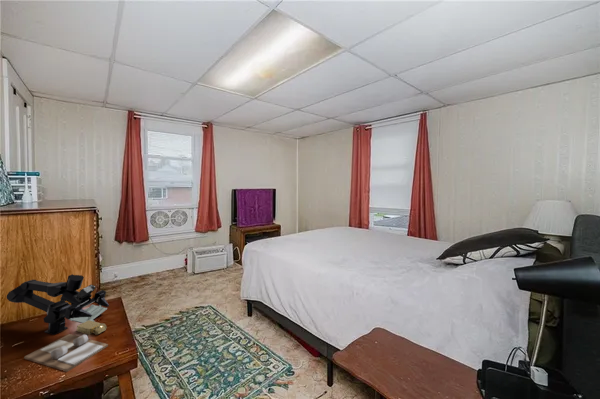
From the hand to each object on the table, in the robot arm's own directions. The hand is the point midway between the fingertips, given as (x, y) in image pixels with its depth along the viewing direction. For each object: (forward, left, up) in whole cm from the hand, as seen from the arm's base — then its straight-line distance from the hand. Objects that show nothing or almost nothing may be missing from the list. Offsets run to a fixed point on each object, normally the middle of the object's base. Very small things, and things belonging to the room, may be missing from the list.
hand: (100, 310), depth 127 cm
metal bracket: (-23, +14, -15) cm, 31 cm away
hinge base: (-3, -12, -15) cm, 19 cm away
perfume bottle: (-9, +4, -15) cm, 18 cm away
